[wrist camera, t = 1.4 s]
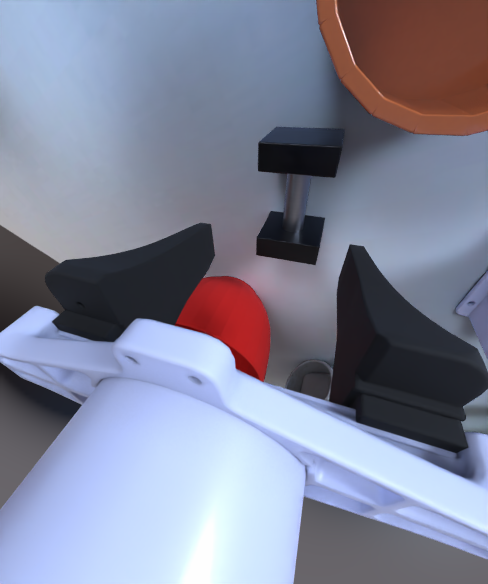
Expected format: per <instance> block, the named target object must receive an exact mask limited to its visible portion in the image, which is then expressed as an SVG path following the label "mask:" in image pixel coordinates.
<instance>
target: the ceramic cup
mask: <svg viewBox="0 0 488 584" xmlns="http://www.w3.org/2000/svg"><path fill="white" fill-rule="evenodd" d="M175 326H178V327H182V328H185V329H189V330H193V331H197V332H200V333H204V334H207V335H210V336H212V337H214V338H217V339H219V340H220V341H221V342H223V343H224V344H225V345H226V346H228V347H229V349H230V350H231V352H232V355H233V357H234V359H235V368H236V369H237V370H239V371H241V372H244V373H246V374H248V375H250V376H252V377H254V378H256V379H258V380H260V381H262V382H264V379H265V375H266V370H267V365H268V359H269V352H270V324H269V320H268V316H267V312H266V310H265V308H264V306H263V304H262V302H261V300H260V299H259V297H258V296H257V295H256V293H255V291H254V290H253V289H252V288H251V287H250V286H249V285H248V284H247V283H245V282H244V281H242V280H240V279H237V278H234V277H229V276H221V277H207V278H202V280H201V281H200V283H199V284H198V286H197V287H196V288H195V290H194V291H193V293H192V294H191V296H190V297H189V299H188V300H187V302H186V304H185V306H184V308H183V310H182V312H181V314H180V315H179V318H178V320H177V322H176V324H175Z"/></svg>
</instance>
